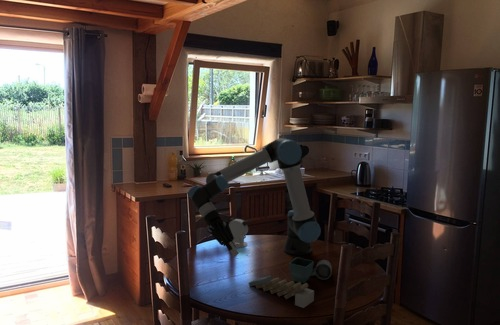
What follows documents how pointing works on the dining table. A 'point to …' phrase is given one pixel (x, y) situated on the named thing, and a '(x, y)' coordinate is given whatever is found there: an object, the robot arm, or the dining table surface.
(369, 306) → the dining table surface
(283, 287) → the domino
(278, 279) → the domino
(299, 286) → the domino
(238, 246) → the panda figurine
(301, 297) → the end block
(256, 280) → the domino
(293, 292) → the domino
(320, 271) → the ceramic mug
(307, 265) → the flower pot
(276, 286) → the domino
